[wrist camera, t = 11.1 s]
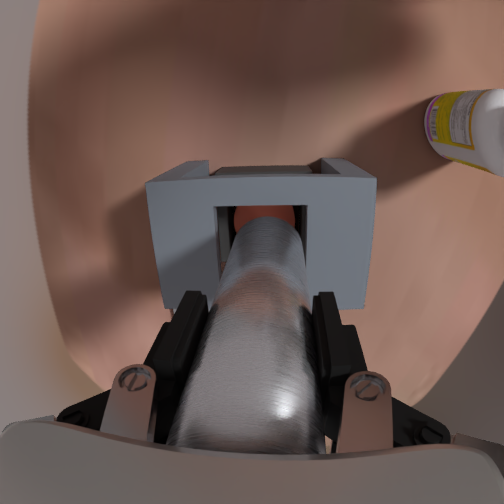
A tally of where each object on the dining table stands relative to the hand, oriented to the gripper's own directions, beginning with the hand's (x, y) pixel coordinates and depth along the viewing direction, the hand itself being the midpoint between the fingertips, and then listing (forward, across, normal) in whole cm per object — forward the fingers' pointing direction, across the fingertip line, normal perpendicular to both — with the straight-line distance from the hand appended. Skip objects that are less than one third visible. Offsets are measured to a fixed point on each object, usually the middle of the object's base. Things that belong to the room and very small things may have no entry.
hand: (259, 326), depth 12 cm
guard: (+19, +1, +1) cm, 19 cm away
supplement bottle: (+19, -17, -8) cm, 27 cm away
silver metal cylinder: (+7, 0, 0) cm, 7 cm away
